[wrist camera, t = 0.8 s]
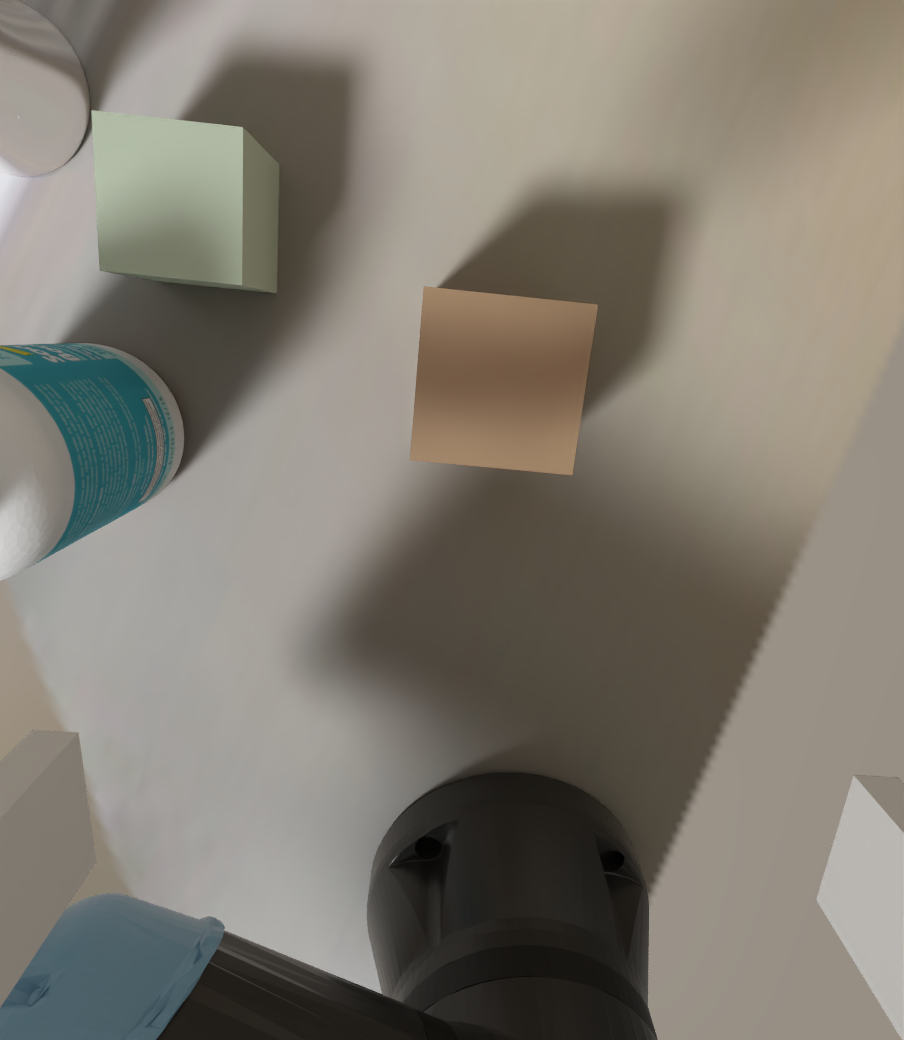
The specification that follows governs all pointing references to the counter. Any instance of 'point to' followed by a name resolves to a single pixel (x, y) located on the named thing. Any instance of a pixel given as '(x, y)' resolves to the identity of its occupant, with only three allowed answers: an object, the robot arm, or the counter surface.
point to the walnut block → (501, 380)
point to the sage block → (185, 202)
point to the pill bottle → (78, 444)
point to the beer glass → (38, 94)
